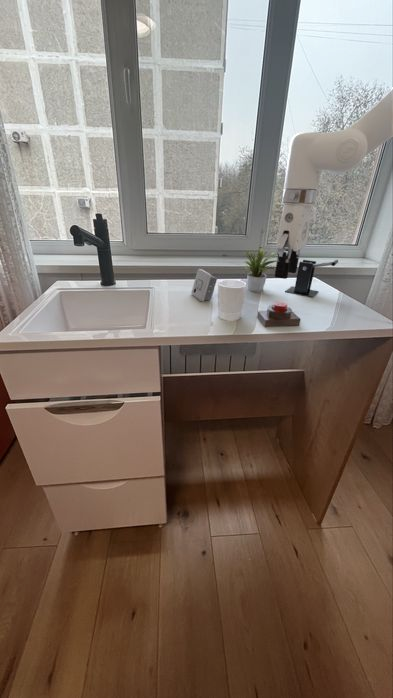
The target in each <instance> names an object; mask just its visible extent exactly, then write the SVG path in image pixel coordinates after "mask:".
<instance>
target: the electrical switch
mask: <svg viewBox="0 0 393 698" xmlns="http://www.w3.org/2000/svg"><path fill="white" fill-rule="evenodd" d="M217 282H218V278H217V277H216V276H213V275H212V274H211V273H209V272H207V271H205V270H204V269H202V268H198V269H197V271H196V275H195V279H194V282H193V285H192V289H191V295H192V296H193V297H194V298H196V299H197V300H198V301H200V302H202V303H204V301H211V300H212V296H213V294H214V290H215V287H216V285H217Z"/></svg>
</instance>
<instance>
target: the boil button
mask: <svg viewBox="0 0 393 698" xmlns="http://www.w3.org/2000/svg"><path fill="white" fill-rule="evenodd" d="M273 305H274V306H273V310H275V311H280V312H283V311H286V309H287V307H288V304H287V303H285V302H283V301H275V302H274V303H273Z"/></svg>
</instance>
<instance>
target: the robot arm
mask: <svg viewBox="0 0 393 698" xmlns="http://www.w3.org/2000/svg"><path fill="white" fill-rule="evenodd" d="M392 138H393V87H392V88H390V89H389V90H388V92H387V93H386V94H385V95H384V96H383V97H382V98H381V99H379V101H378V102H377V103H376V104H374V105H373V106H372V107H371V108H370V109H369V110H368V111H366V112H365V113H364V114H363V115H362V116H360V117H359V118H358V119H357V120H356V121H355V122H354V123H352V124H351V125H350V126H349V127H347V128H345V129H340V130H335V131H329V132H320V131H304V132H299V133H296V134H295V135H294V136H292V138H291V139H290V144H289V150H288V157H287V162H286V170H285V177H284V184H283V190H282V197H281V203H280V205H281V206H283V208H282V212H281V217H280V222H279V228H278V233H277V239H276V247H277V249H276V250H277V251H276V253H277V254H276V255H278V256H277V257H276V261H277V262H276V264H275V269H274V277H275V278H277V279H284V280H285V279H286V280H287V279H288V277H289V273H290V274H297V271H298V266H299V259H300V253H301V250H302V249H304V248H306V246H307V243H308V238H309V230H310V224H311V219H312V217H311V216H312V207H315V204H316V199H317V194H318V188H319V183H320V177H321V173H322V171H326V172H327V173H328V174H330V175H332V176H333V175H334V176H337V175H343V174H345V173H348V172H350V171H352V170H354V169H356V168H357V167H358V166H359V165H360V164H361V163H362V161H363V160H364V159H365V158H366V157H367V156H368V155H370V154H371V153H373V152H374V151H375V150H376V149H378V148H379V147H381V146H382V145H383V144H385V143H386V142H387V141H389V140H390V139H392Z"/></svg>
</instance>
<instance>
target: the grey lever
mask: <svg viewBox="0 0 393 698" xmlns="http://www.w3.org/2000/svg"><path fill="white" fill-rule="evenodd" d="M310 263H312V262H310ZM337 264H339V260H338V259H335V260H333V261H327V262H326V261H325V262H320V263H316V264H313V267H312V268H314V267H315V268H318V267H319V268H321V267H328V266H329V267H330V266H332V267H335V266H336V265H337Z"/></svg>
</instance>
